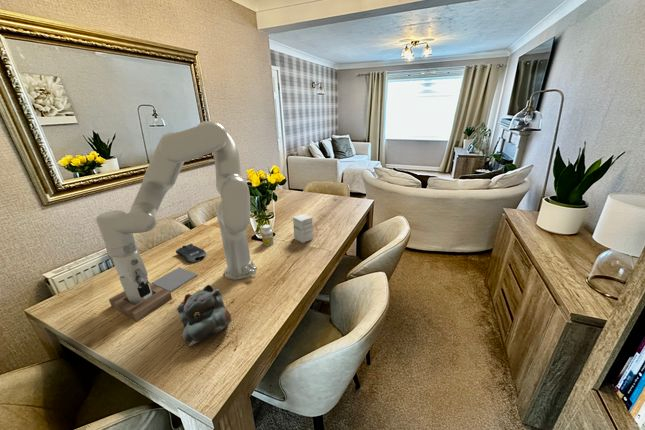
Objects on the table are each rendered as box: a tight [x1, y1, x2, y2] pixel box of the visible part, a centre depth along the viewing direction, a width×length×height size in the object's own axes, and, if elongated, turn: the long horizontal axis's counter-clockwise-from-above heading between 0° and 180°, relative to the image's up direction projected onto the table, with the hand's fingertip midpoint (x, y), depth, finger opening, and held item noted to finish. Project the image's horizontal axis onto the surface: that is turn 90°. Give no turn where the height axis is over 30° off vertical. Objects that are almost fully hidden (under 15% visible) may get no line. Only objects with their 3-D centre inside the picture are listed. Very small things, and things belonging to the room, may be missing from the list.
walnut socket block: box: [108, 281, 173, 322], centre depth 90 cm, size 16×12×3 cm
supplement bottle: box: [261, 224, 274, 247], centre depth 128 cm, size 5×5×10 cm
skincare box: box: [118, 276, 153, 305], centre depth 89 cm, size 6×4×12 cm
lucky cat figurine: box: [176, 284, 232, 347], centre depth 78 cm, size 15×12×14 cm
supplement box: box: [292, 213, 314, 244], centre depth 132 cm, size 7×7×13 cm
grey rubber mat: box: [151, 267, 199, 293], centre depth 103 cm, size 12×12×1 cm
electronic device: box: [175, 243, 207, 263], centre depth 120 cm, size 9×6×15 cm
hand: (137, 291), depth 89 cm, fingers open, 9 cm apart
